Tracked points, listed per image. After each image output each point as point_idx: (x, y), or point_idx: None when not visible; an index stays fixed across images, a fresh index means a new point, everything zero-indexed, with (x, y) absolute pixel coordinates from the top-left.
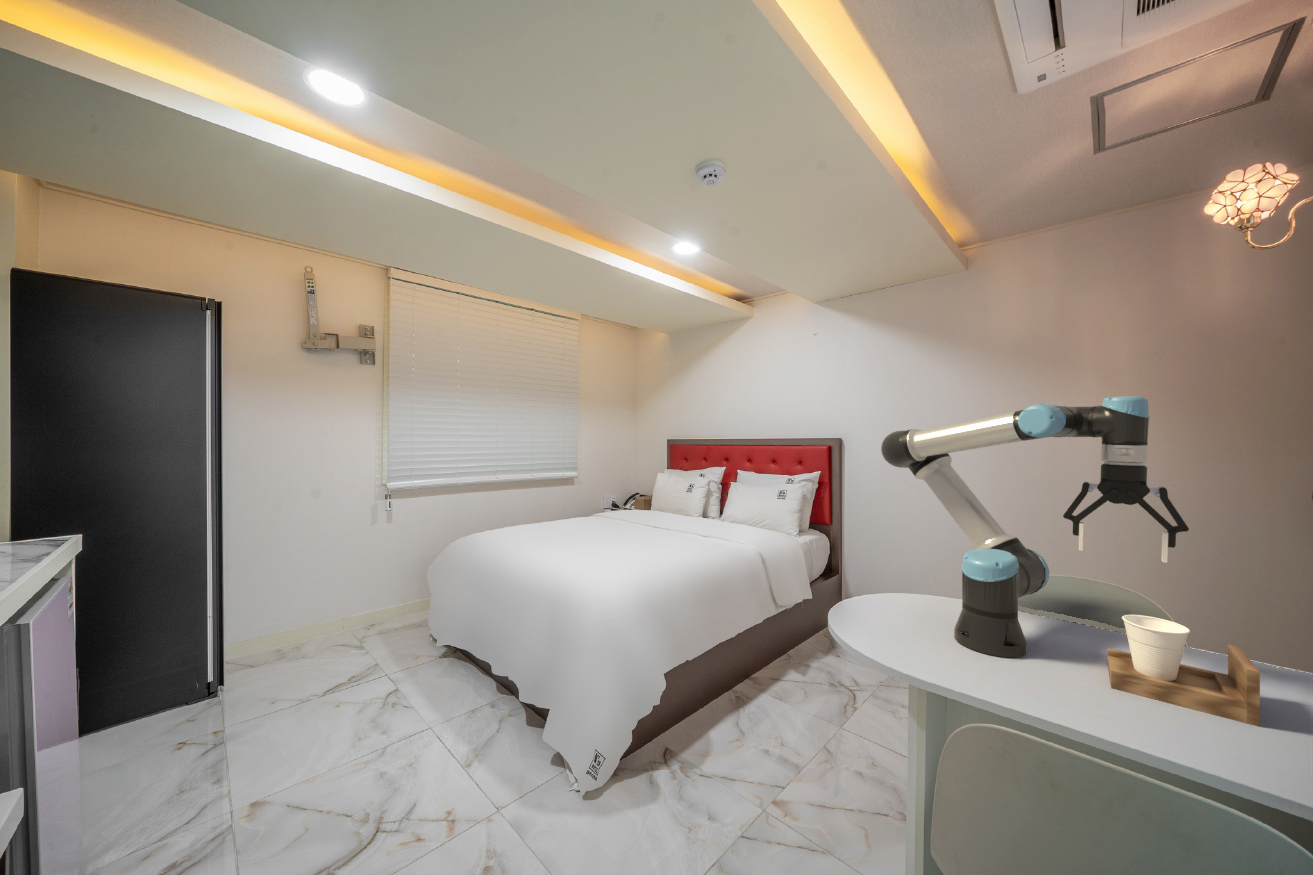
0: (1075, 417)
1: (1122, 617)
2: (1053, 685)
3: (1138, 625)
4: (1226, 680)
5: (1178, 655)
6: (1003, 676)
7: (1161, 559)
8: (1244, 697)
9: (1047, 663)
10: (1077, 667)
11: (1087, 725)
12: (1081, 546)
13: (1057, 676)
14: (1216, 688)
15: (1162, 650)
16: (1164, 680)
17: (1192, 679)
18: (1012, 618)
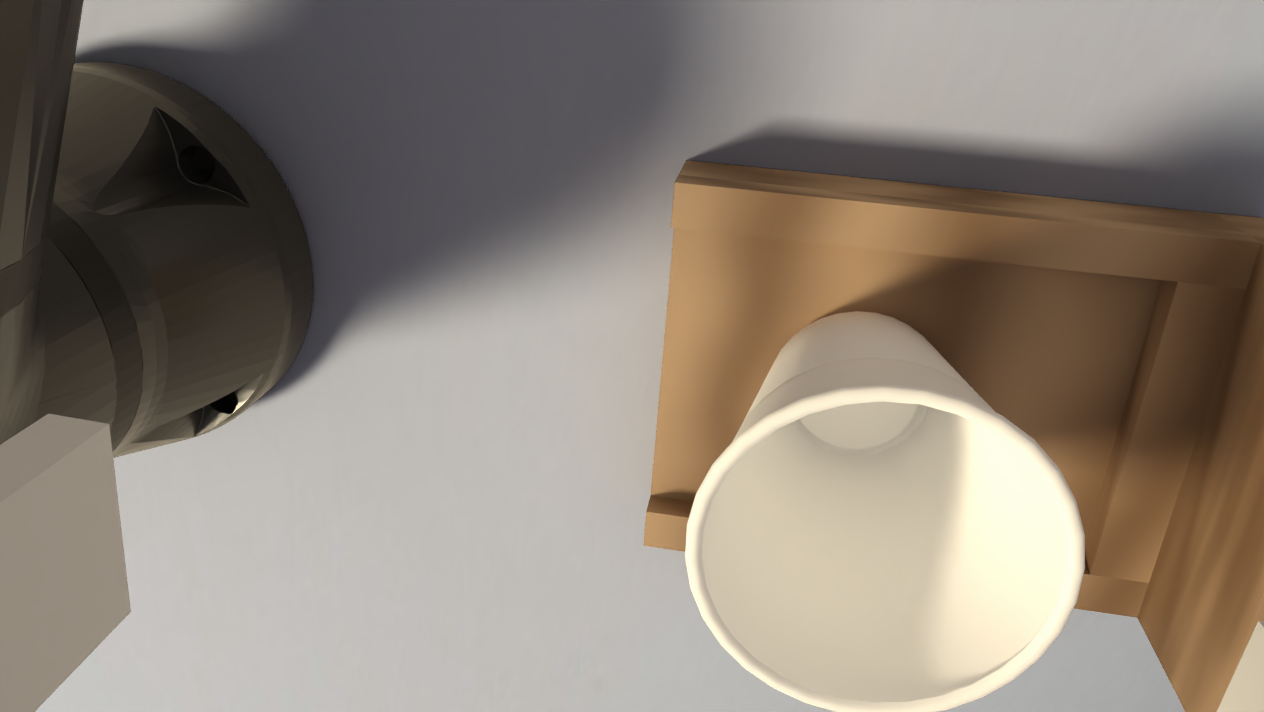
0: None
1: (688, 539)
2: (445, 599)
3: (753, 674)
4: (1195, 358)
5: (955, 552)
6: (275, 617)
7: (1250, 660)
8: (1153, 589)
9: (412, 357)
10: (538, 322)
11: None
12: (61, 665)
13: (457, 495)
14: (1108, 408)
15: (870, 600)
16: (877, 455)
17: (1034, 342)
18: (128, 430)
